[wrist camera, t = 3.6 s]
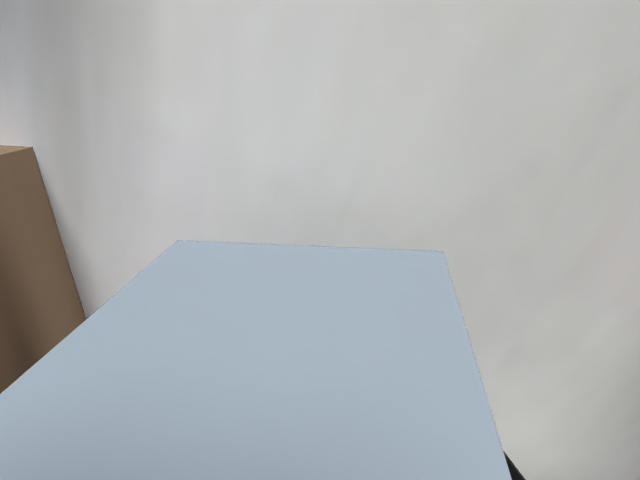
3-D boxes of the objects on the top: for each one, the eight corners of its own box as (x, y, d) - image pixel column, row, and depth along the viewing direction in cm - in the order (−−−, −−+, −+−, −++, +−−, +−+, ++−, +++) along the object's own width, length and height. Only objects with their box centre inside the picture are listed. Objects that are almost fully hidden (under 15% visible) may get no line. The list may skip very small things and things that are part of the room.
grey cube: (443, 250, 8) (559, 637, 3) (420, 444, 11) (455, 842, 5) (177, 240, 9) (-135, 510, 4) (215, 421, 11) (64, 737, 6)
